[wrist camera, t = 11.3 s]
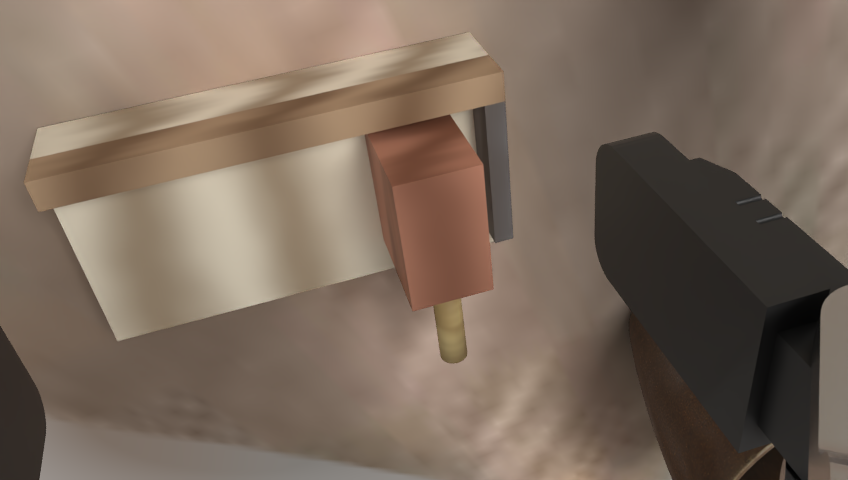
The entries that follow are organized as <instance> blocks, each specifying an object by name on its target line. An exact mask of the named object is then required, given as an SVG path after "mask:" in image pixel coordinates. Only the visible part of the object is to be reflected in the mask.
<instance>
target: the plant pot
mask: <svg viewBox="0 0 848 480" xmlns="http://www.w3.org/2000/svg"><path fill="white" fill-rule="evenodd" d="M629 333H630V340H631V345H632V351H633V356H634V361H635V366H636V370H637V374H638V378H639V382H640V386H641V389H642V393H643V397H644V400H645V404H646V407H647V411H648V414H649V417H650V420H651V423H652V426H653V429H654V432H655V435H656V438H657V441H658V443H659V446H660V449H661V452H662V454H663V457H664V460H665V462H666V465H667V467H668V470H669V472H670V475H671V477H672V480H780V472H781V467H782V463H783V459H784V458H783V456H782V455H781V454H780V453H779V451H778V450H777V449H776V448H775V446H774V445H773V444H772V443H770V444H766V445H763V446H760V447H757V448H754V449H751V450H748V451H745V452H742V453H738V452H737V451H736V450H735V448H734V447H733V446H732V444H731V443H730V442H729V440H728V439H727V438H726V436H725V435H724V434H723V432H722V431H721V430H720V428H719V427H718V426H717V424H716V423H715V422H714V420H713V419H712V418H711V416H710V415H709V414H708V412H707V411H706V410H705V408H704V407H703V406H702V404H701V403H700V402H699V400H698V399H697V398H696V396H695V395H694V394H693V392H692V391H691V390H690V388H689V387H688V386H687V384H686V383H685V382H684V380H683V379H682V378H681V376H680V375H679V374H678V372H677V371H676V370H675V368H674V367H673V366H672V364H671V363H670V362H669V360H668V359H667V358H666V356H665V355H664V354H663V352H662V351H661V350H660V348H659V347H658V346H657V344H656V343H655V342H654V340H653V339H652V338H651V336H650V335H649V334H648V332H647V331H646V330H645V328H644V327H643V326H642V324H641V323H640V322H639V320H638V319H637V318H636V316H635V315H634V314H633V312H632V314H631V317H630V321H629Z"/></svg>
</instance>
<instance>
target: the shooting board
mask: <svg viewBox="0 0 848 480" xmlns="http://www.w3.org/2000/svg"><path fill="white" fill-rule="evenodd" d="M449 114H450V115H451V117H452V118H453V120H454V121H455V123H456V124H457V126H458V127H459V129H460V130H461V132H462V133H463V135H464V136H465V138H466V139H467V141H468V142H469V144H470V145H471V147H472V148H473V150H474V151H475V153H476V154H477V156H478V157H479V159H480V160H481V162H482V163H483V166H484V179H485V191H486V203H487V215H488V227H489V240H490V242H495V243H497V242H501V241H505V240H508V239H512V238H513V226H512V209H511V192H510V175H509V158H508V141H507V124H506V107H505V90H504V73H503V70H502V69H501V68H500V67H499V66H498V65H497V64H496V62H495V61H494V60H493V59H492V58H491V57H490V56H489V54H488V53H487V52H486V51H485V50H484V49H483V48H482V46H481V45H480V44H479V43H478V42H477V41H476V40H475V39H474V37H473V36H472V35H471V34H470V33H469V32H468V33H463V34H459V35H454V36H450V37H445V38H441V39H436V40H432V41H428V42H423V43H419V44H414V45H410V46H405V47H401V48H396V49H392V50H387V51H383V52H378V53H374V54H369V55H365V56H360V57H356V58H351V59H347V60H342V61H338V62H333V63H329V64H324V65H320V66H315V67H311V68H306V69H302V70H297V71H293V72H288V73H284V74H279V75H275V76H270V77H266V78H261V79H257V80H252V81H248V82H243V83H239V84H234V85H230V86H225V87H221V88H216V89H212V90H208V91H203V92H199V93H194V94H190V95H185V96H181V97H176V98H172V99H167V100H163V101H158V102H154V103H149V104H145V105H140V106H136V107H131V108H127V109H122V110H118V111H113V112H109V113H104V114H100V115H95V116H91V117H86V118H82V119H77V120H73V121H68V122H64V123H59V124H55V125H50V126H46V127H41V128H38V129H37V133H36V137H35V141H34V145H33V149H32V152H31V156H30V160H29V164H28V168H27V172H26V176H25V180H24V184H25V186H26V188H27V190H28V192H29V194H30V196H31V198H32V200H33V202H34V204H35V206H36V208H37V210H38V212H42V211H46V210H50V209H54V211H55V213H56V215H57V217H58V219H59V221H60V223H61V225H62V227H63V229H64V231H65V234H66V236H67V238H68V240H69V242H70V244H71V246H72V248H73V250H74V252H75V254H76V256H77V258H78V260H79V262H80V265H81V267H82V269H83V271H84V273H85V275H86V277H87V279H88V281H89V283H90V285H91V287H92V289H93V291H94V293H95V296H96V298H97V300H98V302H99V304H100V306H101V308H102V310H103V312H104V314H105V316H106V318H107V320H108V322H109V325H110V327H111V329H112V331H113V333H114V335H115V337H116V339H117V341H120V340H124V339H128V338H132V337H135V336H139V335H143V334H147V333H151V332H154V331H158V330H162V329H166V328H169V327H173V326H177V325H181V324H185V323H188V322H192V321H196V320H200V319H203V318H207V317H211V316H215V315H219V314H222V313H226V312H230V311H234V310H237V309H241V308H245V307H249V306H253V305H256V304H260V303H264V302H268V301H271V300H275V299H279V298H283V297H287V296H290V295H294V294H298V293H302V292H305V291H309V290H313V289H317V288H321V287H324V286H328V285H332V284H336V283H339V282H343V281H347V280H351V279H355V278H358V277H362V276H366V275H370V274H373V273H377V272H381V271H385V270H388V269H392V268H395V266H394V264H393V261H392V259H391V256H390V254H389V251H388V249H387V247H386V244H385V242H384V238H383V233H382V227H381V222H380V217H379V211H378V206H377V200H376V195H375V189H374V184H373V178H372V173H371V167H370V162H369V156H368V151H367V146H366V140H365V134H370V133H374V132H378V131H382V130H386V129H391V128H395V127H399V126H403V125H407V124H412V123H416V122H420V121H424V120H428V119H433V118H437V117H441V116H445V115H449Z"/></svg>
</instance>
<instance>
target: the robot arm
mask: <svg viewBox="0 0 848 480" xmlns="http://www.w3.org/2000/svg"><path fill="white" fill-rule="evenodd" d="M595 245H596V251H597V255H598V258H599V262H600V264H601V267H602V269H603V271H604V273H605V275H606V277H607V279H608V280H609V281H610V283H611V284H612V285H613V287H614V288H615V289H616V291H617V292H618V293H619V295H620V296H621V297H622V299H623V300H624V302H625V303H626V304H627V306H628V307H629V308H630V310H631V311H632V312H633V314H634V315H635V316H636V318H637V319H638V320H639V322H640V323H641V324H642V326H643V327H644V328H645V330H646V331H647V332H648V334H649V335H650V336H651V338H652V339H653V340H654V342H655V343H656V344H657V346H658V347H659V348H660V350H661V351H662V352H663V354H664V355H665V356H666V358H667V359H668V360H669V362H670V363H671V364H672V366H673V367H674V368H675V370H676V371H677V372H678V374H679V375H680V376H681V378H682V379H683V380H684V382H685V383H686V384H687V386H688V387H689V388H690V390H691V391H692V392H693V394H694V395H695V396H696V398H697V399H698V400H699V402H700V403H701V404H702V406H703V407H704V408H705V410H706V411H707V412H708V414H709V415H710V416H711V418H712V419H713V420H714V422H715V423H716V424H717V426H718V427H719V428H720V430H721V431H722V432H723V434H724V435H725V436H726V438H727V439H728V440H729V442H730V443H731V444H732V446H733V447H734V448H735V450H736V451H737V452H738V453H742V452H745V451H748V450H751V449H754V448H757V447H760V446H763V445H766V444H770V443H772V444H773V445H774V446H775V448H776V449H777V450H778V451H779V453H780V454H781V455H782V456H783V458H784V459H783V463H782V467H781V472H780V480H848V269H847V268H846V267H844V266H843V265H842V264H841V263H840V262H839V261H837V260H836V259H835V258H834V257H833V256H832V255H830V254H829V253H828V252H827V251H826V250H825V249H823V248H822V247H821V246H820V245H819V244H818V243H816V242H815V241H814V240H813V239H812V238H811V237H809V236H808V235H807V234H806V233H805V232H804V231H803V230H801V229H800V228H799V227H798V226H797V225H796V224H794V223H793V222H792V221H791V220H790V219H789V218H787V217H786V218H783V217H782V212H780V211H779V210H778V209H777V208H776V207H775V206H773V205H772V204H771V203H770V202H769V201H768V200H766V199H764V200H762V199H761V194H759V193H758V192H757V191H756V190H755V189H754V188H752V187H751V186H750V185H749V184H748V183H747V182H745V181H744V180H743V179H742V178H741V177H740V176H738V175H737V174H736V173H734V172H732V171H730V170H727V169H725V168H723V167H720V166H718V165H716V164H713V163H711V162H709V161H706V160H704V159H702V158H697V159H693V160H688V159H687V158H686V157H685V156H684V155H683V154H682V153H681V152H680V151H678V150H677V149H676V148H675V147H674V146H673V145H672V144H671V143H670V142H669V141H667V140H666V139H665V138H664V137H663V136H662V135H660V134H659V133H656V132H652V133H648V134H644V135H640V136H636V137H632V138H628V139H624V140H620V141H616V142H612V143H608V144H604V145H602V146H601V147H600V148H599V150H598V152H597V157H596V186H595ZM45 436H46V419H45V412H44V407H43V403H42V400H41V397H40V394H39V391H38V389H37V387H36V385H35V383H34V382H33V380H32V378H31V377H30V375H29V373H28V371H27V370H26V368H25V366H24V365H23V363H22V361H21V360H20V358H19V356H18V355H17V353H16V351H15V350H14V348H13V346H12V345H11V343H10V341H9V340H8V338H7V336H6V335H5V333H4V331H3V330H2V328H1V326H0V480H39V478H40V471H41V464H42V457H43V450H44V443H45Z"/></svg>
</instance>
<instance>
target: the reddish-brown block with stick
mask: <svg viewBox="0 0 848 480" xmlns="http://www.w3.org/2000/svg"><path fill="white" fill-rule="evenodd" d="M365 140H366V146H367V151H368V156H369V162H370V167H371V173H372V178H373V184H374V189H375V195H376V200H377V206H378V211H379V217H380V222H381V227H382V233H383V238H384V242H385V244H386V247H387V249H388V251H389V254H390V256H391V259H392V261H393V264H394V266H395V269H396V271H397V274H398V276H399V279H400V281H401V283H402V286H403V288H404V291H405V293H406V296H407V298H408V301H409V303H410V306H411V308H412V311H416V310H420V309H423V308H427V307H431V306H434V313H435V320H436V327H437V334H438V341H439V348H440V355H441V358H442V359H443V360H444V361H445V362H447V363H458V362H461V361H463V360H464V359H465V358H466V356H467V347H466V338H465V330H464V321H463V312H462V304H461V298H463V297H467V296H471V295H474V294H478V293H482V292H485V291H489V290H492V289H494V288H493V276H492V264H491V252H490V240H489V227H488V215H487V203H486V191H485V179H484V166H483V163H482V162H481V160H480V159H479V157H478V156H477V154H476V153H475V151H474V150H473V148H472V147H471V145H470V144H469V142H468V141H467V139H466V138H465V136H464V135H463V133H462V132H461V130H460V129H459V127H458V126H457V124H456V123H455V121H454V120H453V118H452V117H451V115H450V114H449V115H445V116H441V117H437V118H433V119H428V120H424V121H420V122H416V123H412V124H407V125H403V126H399V127H395V128H391V129H386V130H382V131H378V132H374V133H370V134H365Z"/></svg>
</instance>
